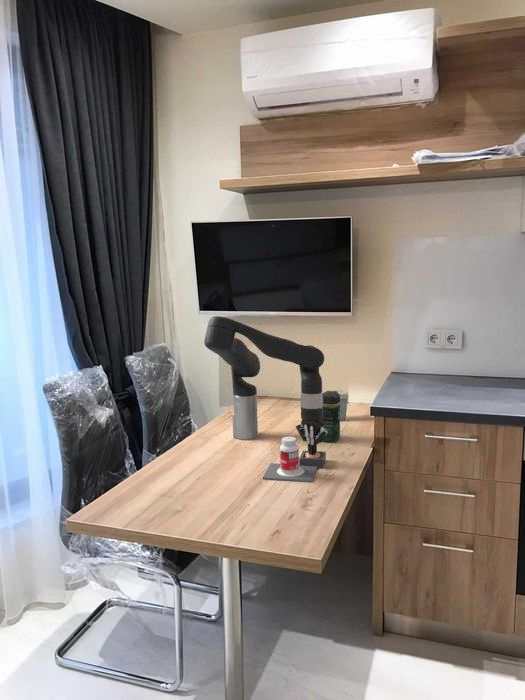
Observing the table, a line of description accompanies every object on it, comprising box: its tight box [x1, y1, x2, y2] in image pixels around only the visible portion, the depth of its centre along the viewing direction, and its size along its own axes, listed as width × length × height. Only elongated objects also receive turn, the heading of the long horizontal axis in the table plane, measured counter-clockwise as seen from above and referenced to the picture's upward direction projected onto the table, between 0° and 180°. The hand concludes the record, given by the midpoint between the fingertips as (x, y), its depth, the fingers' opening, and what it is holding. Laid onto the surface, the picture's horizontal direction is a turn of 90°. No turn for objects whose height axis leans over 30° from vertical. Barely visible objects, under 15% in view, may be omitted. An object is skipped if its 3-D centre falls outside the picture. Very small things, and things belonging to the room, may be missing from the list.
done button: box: [305, 452, 320, 458], centre depth 200 cm, size 5×5×2 cm
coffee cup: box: [334, 389, 349, 422], centre depth 251 cm, size 8×9×12 cm
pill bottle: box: [279, 436, 300, 474], centre depth 191 cm, size 6×6×11 cm
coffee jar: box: [319, 390, 341, 443], centre depth 225 cm, size 10×8×19 cm
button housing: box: [299, 450, 327, 469], centre depth 200 cm, size 8×8×3 cm
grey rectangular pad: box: [262, 462, 318, 483], centre depth 192 cm, size 16×13×1 cm
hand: (312, 454), depth 200 cm, fingers closed
